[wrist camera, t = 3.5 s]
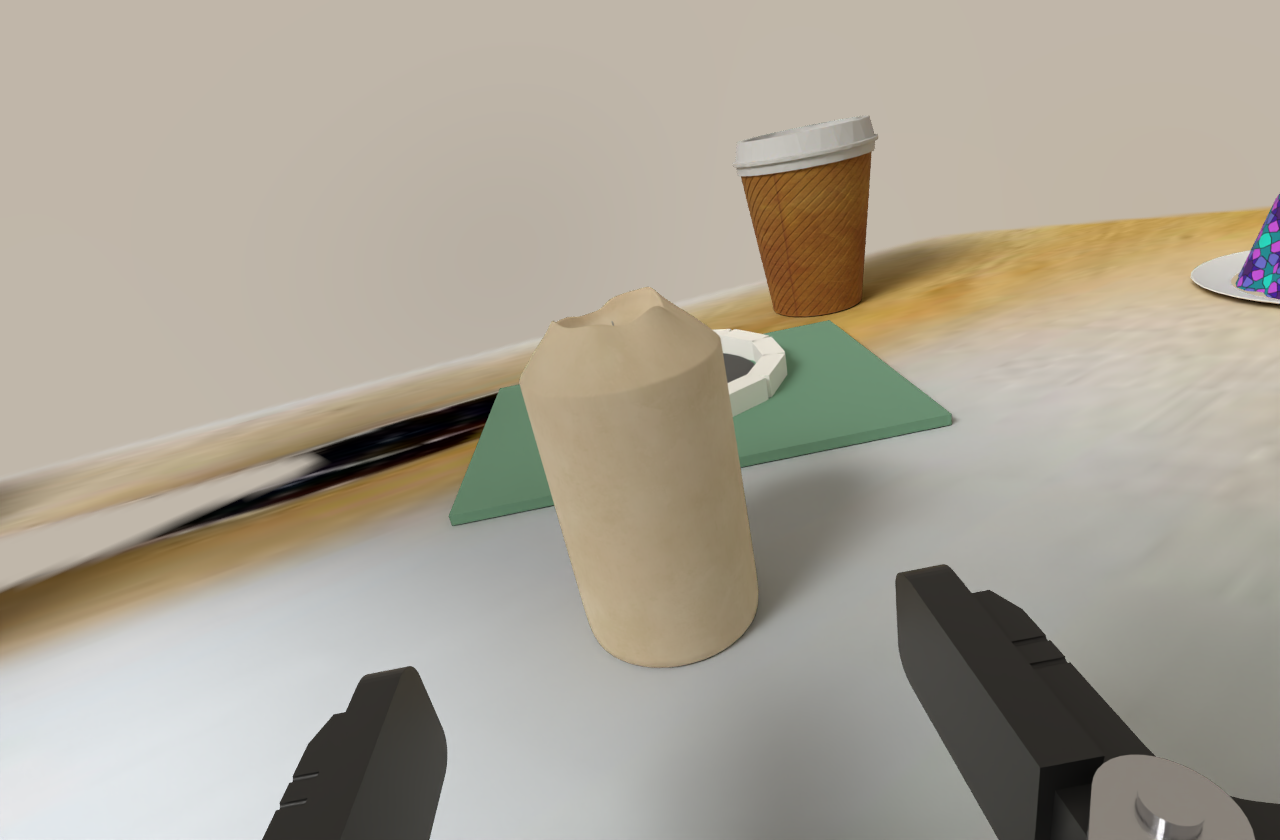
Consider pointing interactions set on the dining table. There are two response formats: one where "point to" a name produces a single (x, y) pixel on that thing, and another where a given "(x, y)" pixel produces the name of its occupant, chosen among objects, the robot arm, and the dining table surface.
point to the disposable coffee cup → (810, 212)
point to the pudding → (1248, 266)
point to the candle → (645, 478)
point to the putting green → (761, 408)
